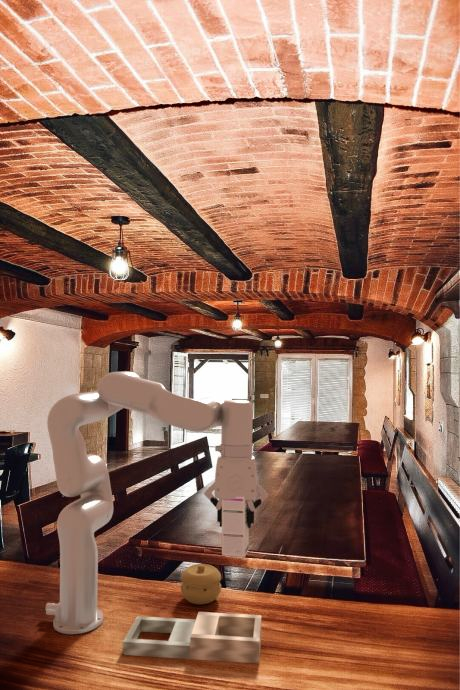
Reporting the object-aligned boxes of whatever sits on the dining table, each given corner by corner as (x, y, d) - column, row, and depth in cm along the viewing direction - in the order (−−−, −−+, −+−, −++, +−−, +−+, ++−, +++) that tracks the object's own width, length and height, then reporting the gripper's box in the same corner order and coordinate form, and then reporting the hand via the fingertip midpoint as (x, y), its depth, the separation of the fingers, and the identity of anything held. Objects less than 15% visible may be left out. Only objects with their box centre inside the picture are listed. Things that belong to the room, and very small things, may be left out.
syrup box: (245, 558, 122) (246, 496, 122) (220, 555, 123) (221, 494, 123) (249, 549, 127) (250, 490, 127) (225, 547, 128) (226, 488, 129)
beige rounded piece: (215, 612, 141) (215, 575, 142) (174, 607, 144) (174, 571, 144) (225, 593, 153) (226, 559, 153) (188, 588, 156) (188, 555, 156)
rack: (122, 654, 121) (122, 633, 121) (136, 627, 133) (137, 608, 133) (259, 663, 118) (259, 641, 118) (261, 635, 130) (261, 615, 130)
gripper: (199, 452, 122) (197, 529, 122) (272, 455, 121) (271, 532, 120) (203, 447, 130) (202, 519, 130) (272, 449, 128) (271, 522, 128)
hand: (235, 524), depth 125 cm, fingers closed on syrup box, 6 cm apart
